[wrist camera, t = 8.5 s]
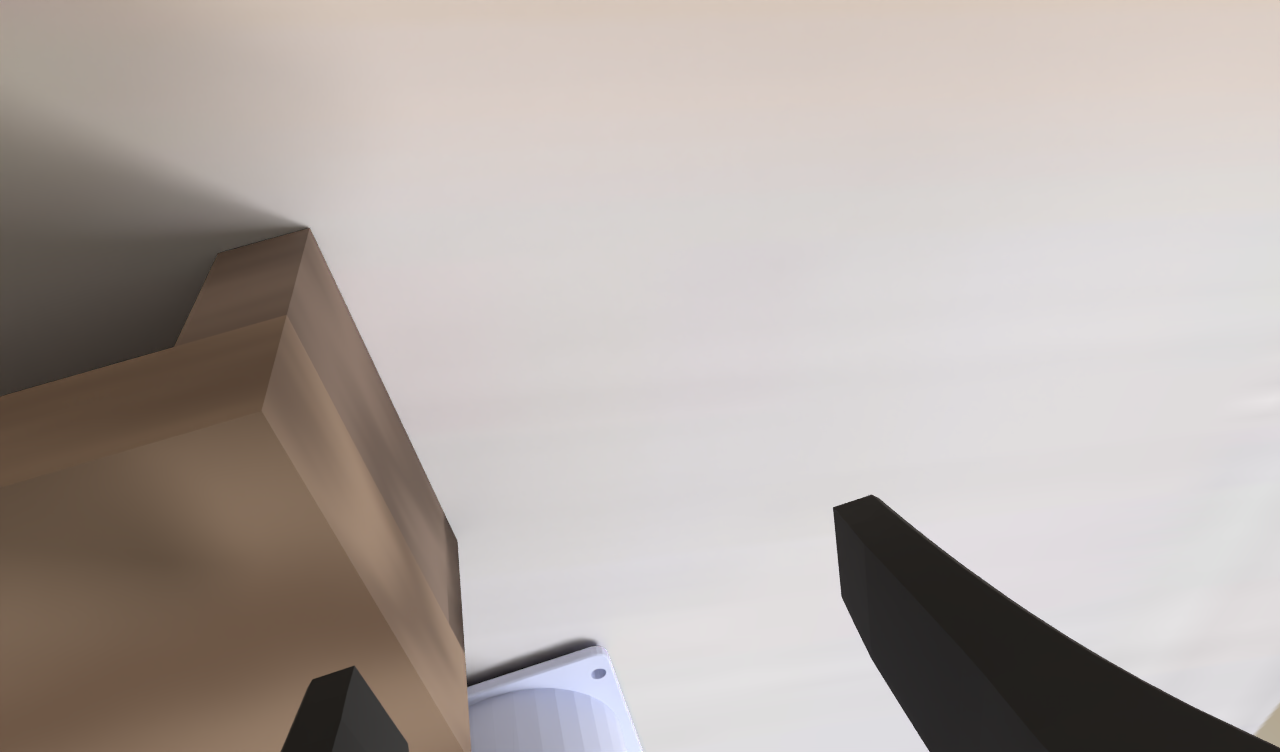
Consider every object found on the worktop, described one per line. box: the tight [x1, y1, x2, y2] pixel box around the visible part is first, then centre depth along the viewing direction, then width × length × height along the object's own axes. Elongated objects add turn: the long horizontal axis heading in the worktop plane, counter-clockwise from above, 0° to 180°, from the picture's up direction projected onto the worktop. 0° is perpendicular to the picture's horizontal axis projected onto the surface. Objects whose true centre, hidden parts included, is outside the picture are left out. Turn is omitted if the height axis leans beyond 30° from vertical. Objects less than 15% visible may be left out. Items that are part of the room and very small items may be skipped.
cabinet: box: [0, 228, 471, 752], centre depth 17 cm, size 10×13×7 cm
